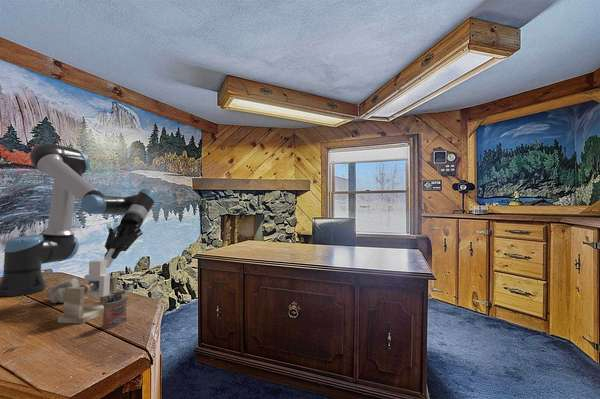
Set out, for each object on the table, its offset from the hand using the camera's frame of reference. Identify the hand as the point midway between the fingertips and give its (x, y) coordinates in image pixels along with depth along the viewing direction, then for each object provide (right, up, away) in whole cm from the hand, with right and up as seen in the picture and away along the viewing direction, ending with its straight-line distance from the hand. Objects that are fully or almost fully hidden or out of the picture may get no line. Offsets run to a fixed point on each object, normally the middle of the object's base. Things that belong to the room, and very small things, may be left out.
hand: (105, 265), depth 105 cm
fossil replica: (-22, -16, +8) cm, 28 cm away
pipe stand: (-1, -15, -5) cm, 16 cm away
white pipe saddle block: (-1, -10, -3) cm, 10 cm away
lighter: (+13, -15, -15) cm, 25 cm away
